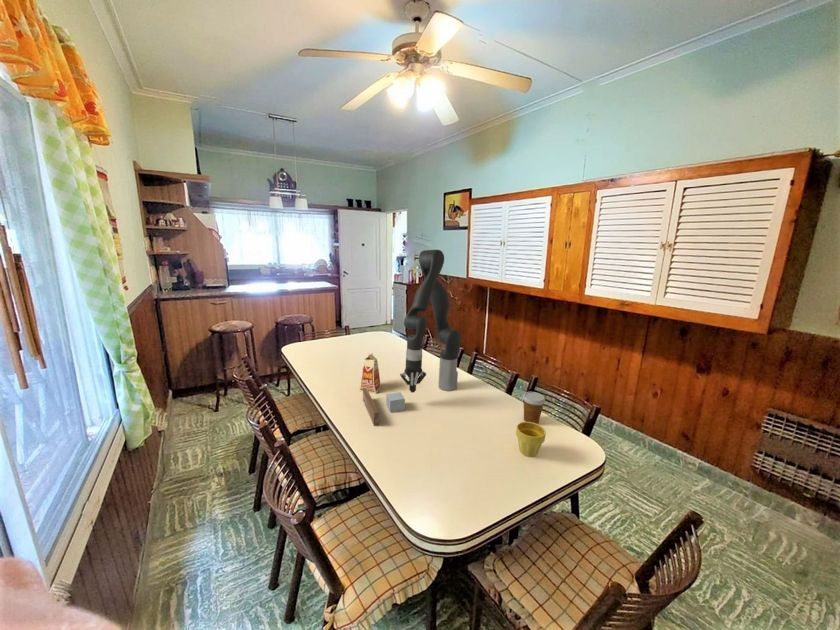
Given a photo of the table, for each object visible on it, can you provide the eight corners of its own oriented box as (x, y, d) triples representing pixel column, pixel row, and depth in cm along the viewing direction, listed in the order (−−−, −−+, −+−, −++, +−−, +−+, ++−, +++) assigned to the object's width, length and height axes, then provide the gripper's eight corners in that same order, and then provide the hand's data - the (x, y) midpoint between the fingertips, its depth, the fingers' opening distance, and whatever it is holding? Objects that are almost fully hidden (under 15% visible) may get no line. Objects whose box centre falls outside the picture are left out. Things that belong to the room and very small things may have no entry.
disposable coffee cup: (515, 417, 148) (518, 393, 145) (532, 413, 152) (534, 389, 149) (530, 428, 140) (533, 402, 137) (547, 424, 143) (550, 399, 141)
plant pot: (527, 463, 117) (529, 439, 115) (508, 446, 126) (511, 424, 124) (548, 456, 121) (552, 433, 119) (529, 441, 130) (532, 419, 128)
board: (366, 399, 160) (366, 388, 159) (378, 425, 138) (378, 412, 137) (362, 399, 159) (362, 388, 158) (373, 425, 137) (373, 413, 136)
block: (400, 403, 157) (400, 392, 156) (404, 410, 151) (404, 398, 150) (386, 405, 155) (386, 394, 154) (390, 412, 149) (390, 400, 147)
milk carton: (375, 393, 166) (375, 356, 162) (358, 391, 168) (358, 355, 163) (381, 386, 175) (381, 351, 170) (365, 384, 177) (364, 349, 172)
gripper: (424, 353, 157) (422, 387, 160) (398, 355, 152) (396, 389, 156) (430, 359, 150) (428, 393, 153) (402, 361, 145) (401, 396, 149)
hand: (412, 391), depth 155 cm, fingers closed
